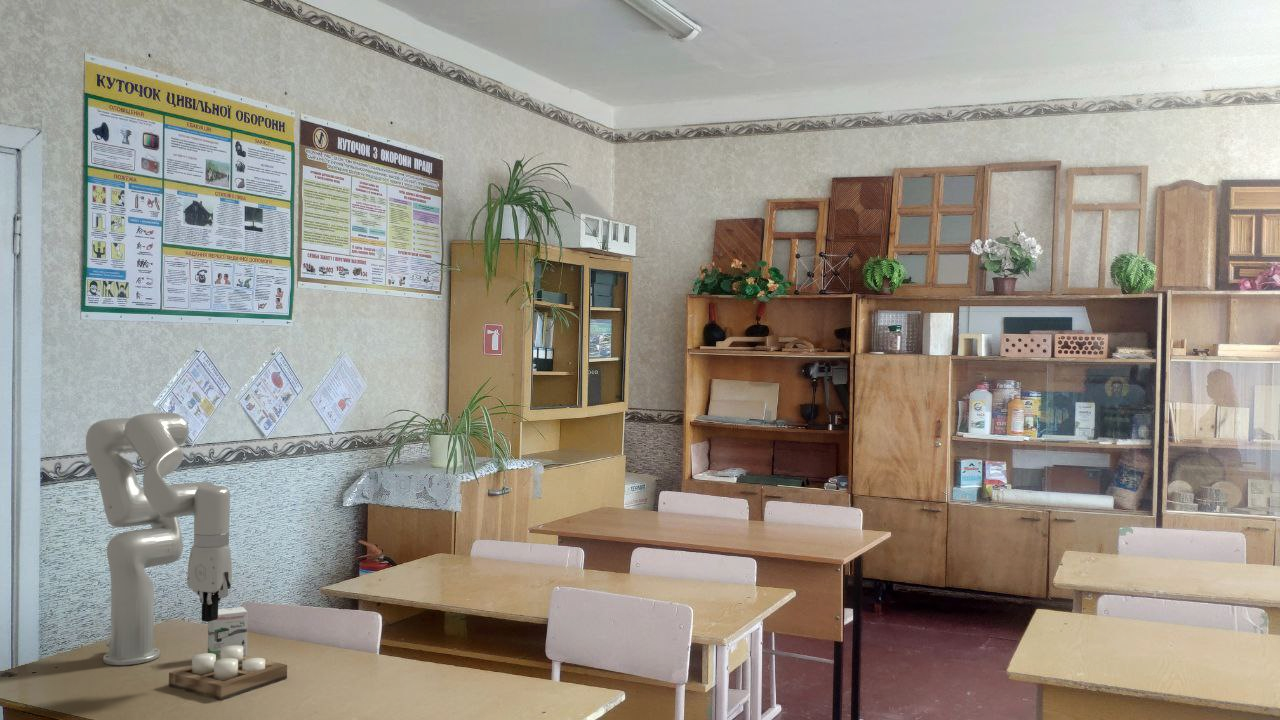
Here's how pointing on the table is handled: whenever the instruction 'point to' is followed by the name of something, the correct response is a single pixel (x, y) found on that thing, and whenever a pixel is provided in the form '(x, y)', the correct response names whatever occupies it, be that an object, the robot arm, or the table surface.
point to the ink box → (228, 630)
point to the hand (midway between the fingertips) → (209, 620)
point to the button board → (230, 687)
